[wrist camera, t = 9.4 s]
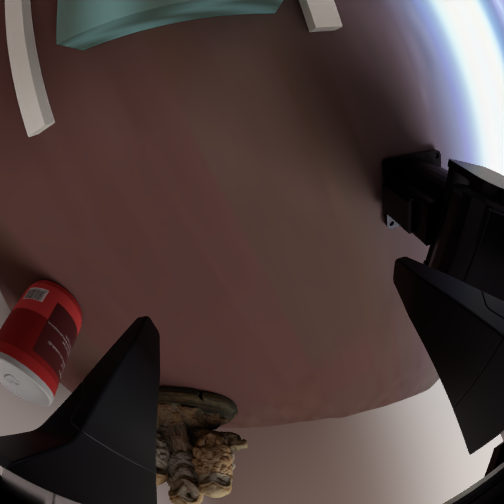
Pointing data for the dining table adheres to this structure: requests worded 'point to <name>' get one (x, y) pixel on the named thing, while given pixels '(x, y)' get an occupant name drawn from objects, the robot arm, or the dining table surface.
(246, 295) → the dining table surface
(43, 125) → the outline
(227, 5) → the T block
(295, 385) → the dining table surface
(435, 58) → the dining table surface
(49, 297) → the red tapered cylinder
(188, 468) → the khaki lumpy piece
